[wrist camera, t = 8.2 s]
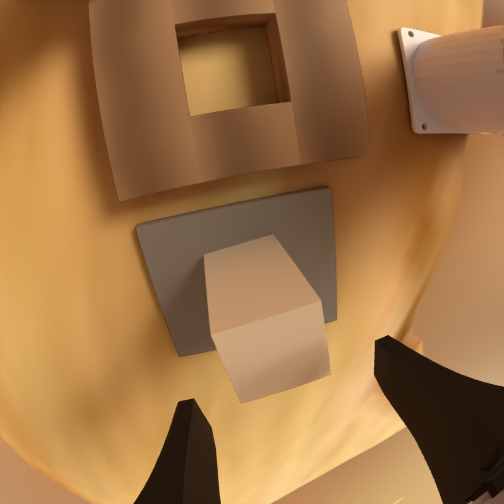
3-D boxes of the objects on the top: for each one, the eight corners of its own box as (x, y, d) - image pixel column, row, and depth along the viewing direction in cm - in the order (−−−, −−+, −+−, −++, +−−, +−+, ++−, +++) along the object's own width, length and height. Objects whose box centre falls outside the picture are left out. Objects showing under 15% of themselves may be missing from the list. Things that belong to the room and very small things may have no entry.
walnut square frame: (322, -16, 14) (337, -31, 11) (351, 152, 18) (371, 155, 16) (100, 11, 12) (88, -3, 10) (129, 192, 17) (119, 201, 15)
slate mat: (327, 186, 19) (330, 187, 19) (334, 315, 23) (336, 320, 22) (137, 224, 18) (135, 227, 17) (179, 351, 22) (179, 356, 21)
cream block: (273, 234, 19) (321, 300, 12) (286, 293, 21) (331, 374, 13) (203, 254, 19) (210, 334, 11) (223, 312, 20) (240, 403, 13)
